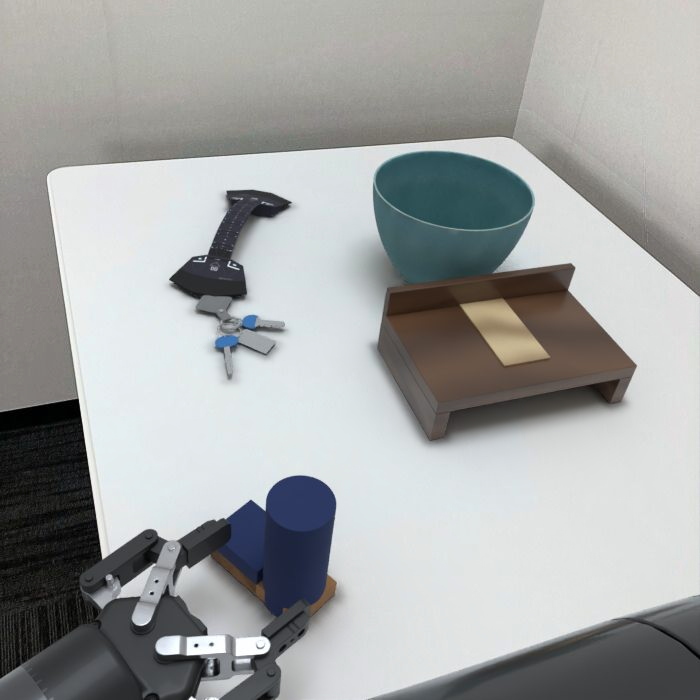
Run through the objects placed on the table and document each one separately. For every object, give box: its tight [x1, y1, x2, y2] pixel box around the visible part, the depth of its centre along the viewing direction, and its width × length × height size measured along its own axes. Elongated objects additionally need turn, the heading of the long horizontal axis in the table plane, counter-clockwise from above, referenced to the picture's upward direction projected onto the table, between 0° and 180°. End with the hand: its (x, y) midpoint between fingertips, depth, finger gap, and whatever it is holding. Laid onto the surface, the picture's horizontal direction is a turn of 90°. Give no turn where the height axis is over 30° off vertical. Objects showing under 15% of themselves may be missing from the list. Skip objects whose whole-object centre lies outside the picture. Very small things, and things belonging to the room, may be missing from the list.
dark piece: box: [168, 189, 293, 299], centre depth 95 cm, size 9×25×3 cm, turn 170°
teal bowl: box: [372, 150, 536, 284], centre depth 91 cm, size 18×18×12 cm
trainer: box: [210, 474, 337, 618], centre depth 57 cm, size 9×5×11 cm, turn 50°
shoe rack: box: [376, 262, 638, 441], centre depth 79 cm, size 14×22×8 cm, turn 110°
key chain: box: [195, 295, 286, 376], centre depth 83 cm, size 14×8×1 cm, turn 24°
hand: (266, 566), depth 54 cm, fingers open, 8 cm apart
